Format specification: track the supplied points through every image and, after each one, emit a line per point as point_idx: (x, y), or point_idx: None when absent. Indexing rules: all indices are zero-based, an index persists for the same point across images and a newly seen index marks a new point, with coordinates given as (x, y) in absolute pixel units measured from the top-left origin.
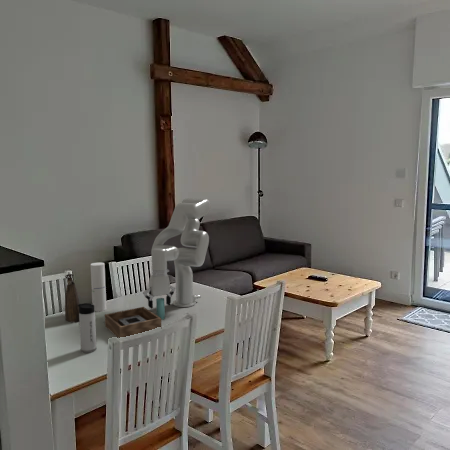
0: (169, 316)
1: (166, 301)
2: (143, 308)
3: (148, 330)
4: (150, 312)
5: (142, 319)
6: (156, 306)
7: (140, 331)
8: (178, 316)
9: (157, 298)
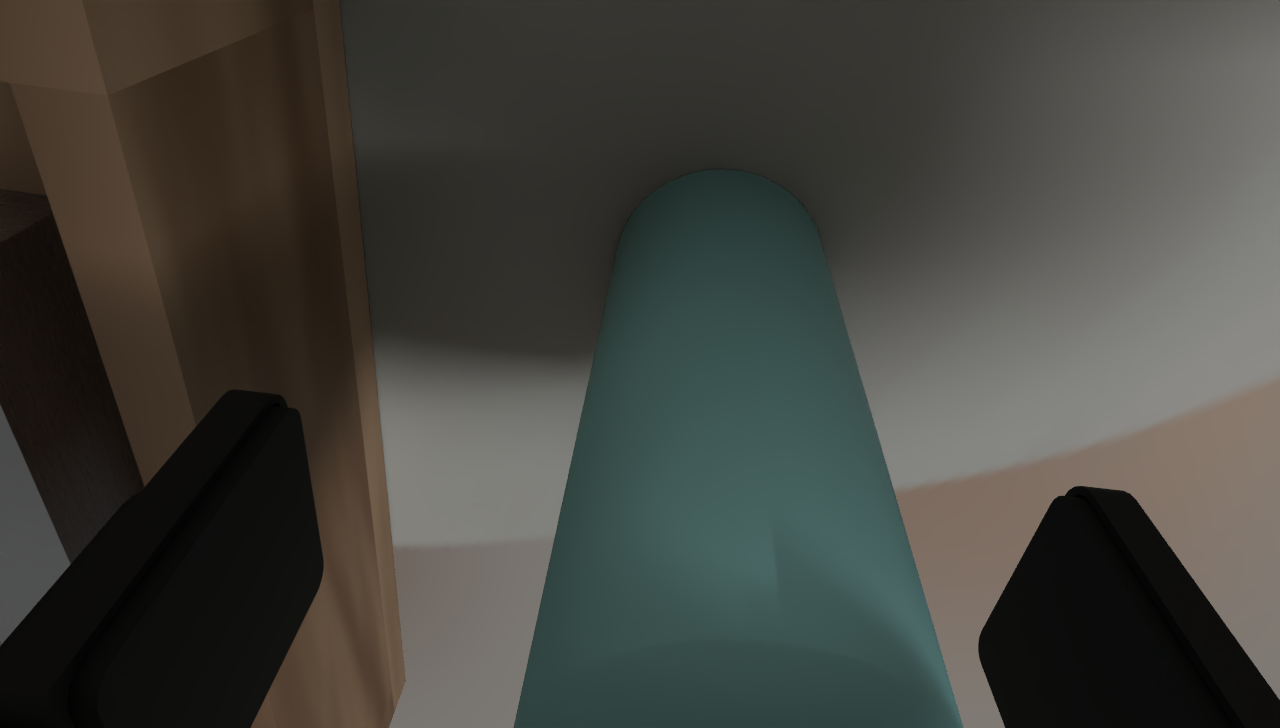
0: (961, 307)
1: (1099, 589)
2: (53, 192)
3: None
4: None
5: (29, 567)
6: (583, 432)
7: None
8: (1093, 435)
9: (692, 640)
